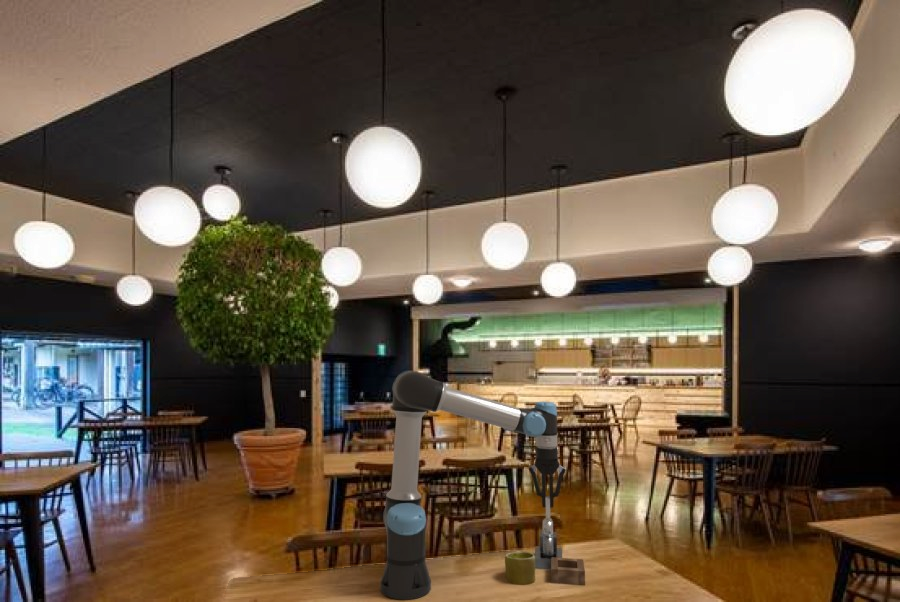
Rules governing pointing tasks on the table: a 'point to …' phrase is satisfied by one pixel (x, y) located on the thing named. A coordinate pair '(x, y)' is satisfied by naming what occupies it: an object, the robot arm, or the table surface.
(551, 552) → the brushed metal rod
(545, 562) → the block
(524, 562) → the mug
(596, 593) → the table surface
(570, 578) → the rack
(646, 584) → the table surface
